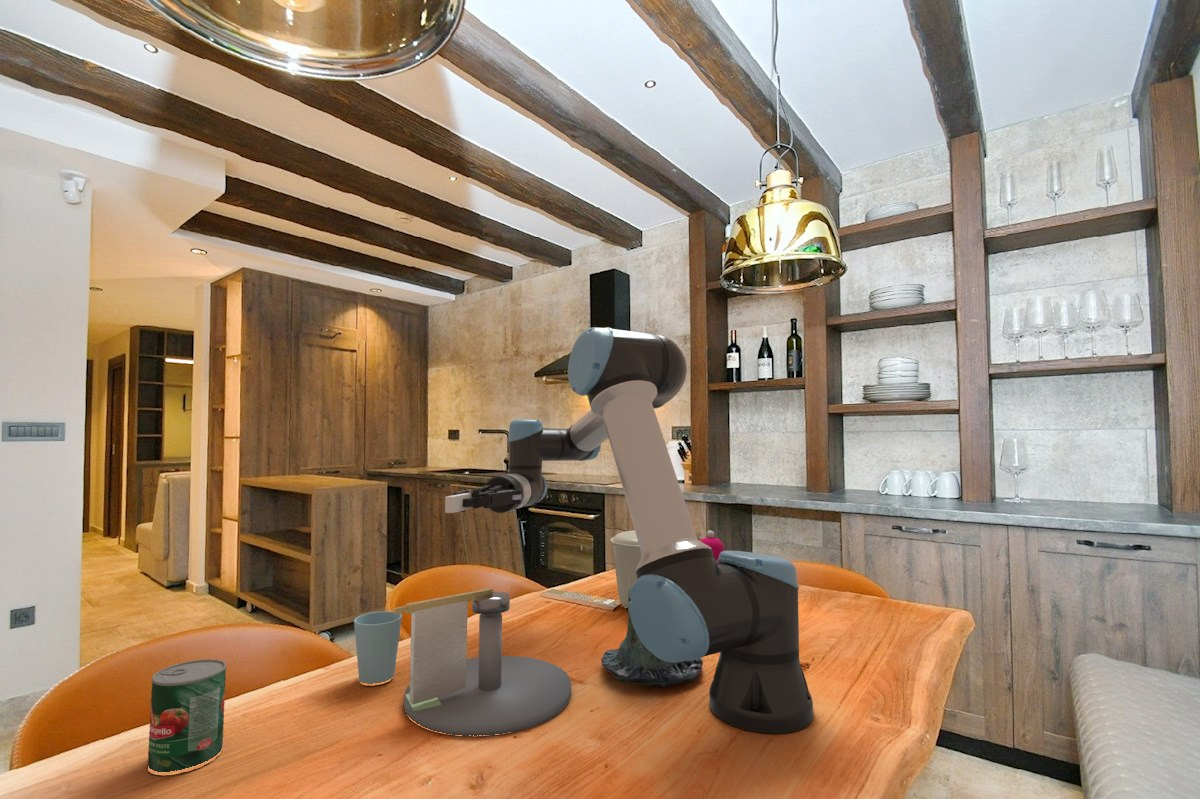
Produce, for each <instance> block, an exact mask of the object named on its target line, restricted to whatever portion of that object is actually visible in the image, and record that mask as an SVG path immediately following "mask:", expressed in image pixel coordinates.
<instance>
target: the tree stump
mask: <svg viewBox="0 0 1200 799" xmlns="http://www.w3.org/2000/svg"><path fill="white" fill-rule="evenodd" d="M630 590H631V588H630V589H629V591H628V607H629V602H630V601H631V599H630V597H629V594H630ZM627 611H628V612H627V613H628V614H627V615H628V616H627V630H626V635H625V638H624V639H623V640H622V641H621V643H620V644H619V647H618V649H606V651H605V652H604V653H603V656H602V657H601V659H600V661H601V666H602V667H603V668H604V669H605V670H606V672H609V673H610V675H612V676H613V677H614V678H616V679H617V681H619V682H620V681H621V682H620V683H626V682H628V683H629V684H633V683H635V685H640V684H642V685H641V686H648V685H650V686H649V687H655V686H657V687H656V688H666V687H670V685H671V686H675V685H679V683H680V684H684V683H683V682H685V683H688V681H689V682H692V681H694V680H695V679H697V678H699V674H700V673H701V671H702V670H703V666H704V662H703V661H704V660H703V659H702V658H700V659H697V660H694V661H682V662H677V663H670V662H666V661H663V660H660V659H659V658H657V657H656V656H654V654H653V653H652V652H650V651H648V650H647V649H646V647H645V646H644V645H643V643H642V642H641V641H640V639H639V637H638V635H637V634H636V631H635V629H634V627H633V624H632V621H631V617H630V612H629V610H627ZM696 677H697V678H696ZM674 684H675V685H674ZM665 686H666V687H665Z"/></svg>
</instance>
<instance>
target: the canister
mask: <svg viewBox="0 0 1200 799" xmlns="http://www.w3.org/2000/svg"><path fill="white" fill-rule="evenodd" d="M609 541H610V543H611V545H612V547H613V548H612V551H613V559H614V560H613V561H614V568H615V577H616V586H617V593H618V598H619V601H620V604H621V603H622V604H621V605H622V606H624V607H623V608H625V607H626V608H628V609H629V607H628V591H629V589H630V588H631V587H632V585H633V584H634V582H635V581H636V580H638V578H637V574H636V567H637V566H638V564H639V562H640V560H641V557H642V554H641V550H640V547H639V543H638V540H637V536H636V533H635V529H634V530H626V531H622V532H619V533H617V534H615V535H614V536H613V537H611V538H610V540H609ZM626 608H625V609H626ZM628 609H627V610H628Z"/></svg>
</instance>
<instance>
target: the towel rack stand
mask: <svg viewBox="0 0 1200 799" xmlns="http://www.w3.org/2000/svg"><path fill="white" fill-rule="evenodd" d="M493 590H494V589H493V588H491V587H490V588H489V587H488V588H483V589H477V590H473V591H469V592H467V591H466V592H462V593H457V594H451V595H446V596H442V597H441V596H440V597H434V598H431V599H430V598H429V599H425V600H420V601H414V602H409V603H405V605H403V606H398V607H394V608H393V612H394V614H404V613H406V614H411V619H410V620H411V622H410V623H411V625H410V662H409V663H410V665H409V667H410V670H409V685H410V701H409V702H410V703H411V704H413V705H414V704H417V703H420V702H423V701H427V700H430V699H433V698H436V697H440V696H443V695H446V694H449V693H453V692H456V691H459V690H462V689H466V670H467V659H468V656H467V654H468V607H469V606H468V603H469V602H471V611H472V613H475V614H478V615H481V614H485V615H489V614H499V613H501V614H503V613H505V612H508V611H509V610H510V608H511V607H510V603H511V594H509V592H504V591H493Z"/></svg>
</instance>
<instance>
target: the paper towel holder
mask: <svg viewBox="0 0 1200 799" xmlns="http://www.w3.org/2000/svg"><path fill="white" fill-rule="evenodd" d="M478 618H479V619H478V621H479V622H478V624H479V625H478V628H479V629H478V630H479V631H478V656H477V657H472V658H467V670H466V689H462V690H459V691H456V692H453V693H449V694H446V695H443V696H440V697H436V698H433V699H430V700H427V701H423V702H420V703H417V704H414V705H413V704H411V703H410V702H409V701H410V684H409V685H408V686H407V688H406V690H405V691H404V697H403V710H404V709H405V711H406V714H407V715H408V716H409V717H410V718H411V719H412V720H413V721H415V722H416V723H417V724H420V725H421V726H423V727H425V728H428V729H430V730H433V731H437V732H442V733H446V734H450V735H451V734H452V735H462V736H469V735H471V736H473V735H474V736H477V735H478V736H479V735H482V736H483V735H495V734H503V733H508V732H513V733H516V732H515V731H517V732H520V731H519V730H521V731H524V730H523V729H525V730H527V729H526V728H528V729H530V727H531V728H534V727H537V726H539V725H541V724H543V723H546V722H547V721H550V720H551V719H553V718H554V717H555V716H557V715H559V714H560V713H561V712H562V711H563V710H564V709H566V707H567V705H568V704H569V703H570V700H571V696H572V680H571V678H570V675H569V674H568V673H567V672H566V671H565V670H564V669H562V668H561V667H560V666H558V665H555V664H553V663H551V662H548V661H546V660H542V659H539V658H533V657H528V656H519V655H502V654H503V652H502V651H503V649H502V647H503V613H499V614H489V615H485V614H479V616H478ZM406 714H405V715H406ZM533 726H534V727H533ZM508 734H509V733H508ZM503 735H504V734H503ZM495 736H496V735H495Z"/></svg>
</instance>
